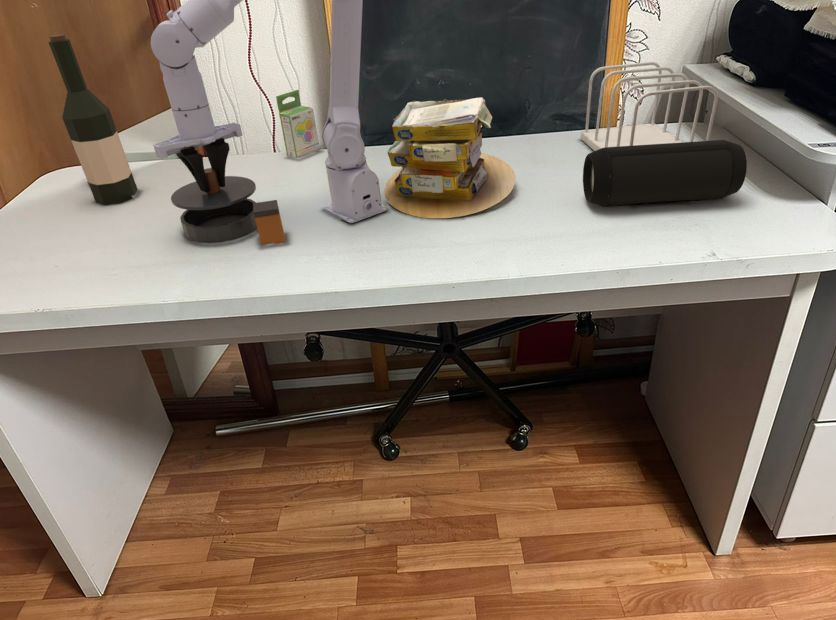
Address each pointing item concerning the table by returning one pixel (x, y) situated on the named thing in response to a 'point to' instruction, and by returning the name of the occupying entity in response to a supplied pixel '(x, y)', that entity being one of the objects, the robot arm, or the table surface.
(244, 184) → the lid
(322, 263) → the table surface
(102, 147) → the wine bottle
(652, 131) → the file sorter
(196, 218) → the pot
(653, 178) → the portable speaker
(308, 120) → the ink box
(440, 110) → the stacked yellow boxes
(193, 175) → the robot arm
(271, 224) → the spice jar
